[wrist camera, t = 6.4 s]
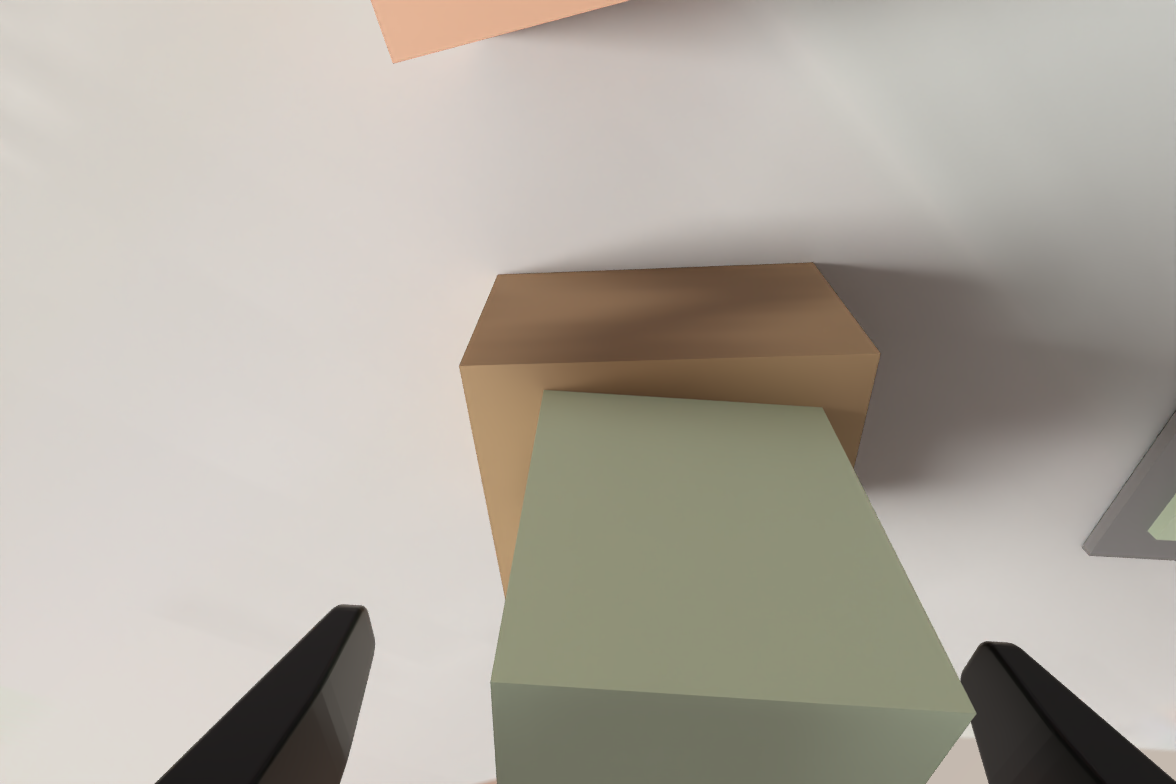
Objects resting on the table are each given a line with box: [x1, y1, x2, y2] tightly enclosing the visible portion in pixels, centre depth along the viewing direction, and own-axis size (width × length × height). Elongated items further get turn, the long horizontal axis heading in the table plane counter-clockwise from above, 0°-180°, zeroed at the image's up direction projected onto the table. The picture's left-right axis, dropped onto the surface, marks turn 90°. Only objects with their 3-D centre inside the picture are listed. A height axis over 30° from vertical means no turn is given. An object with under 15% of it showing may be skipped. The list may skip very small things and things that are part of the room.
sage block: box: [490, 390, 977, 784], centre depth 9 cm, size 4×4×5 cm
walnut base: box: [459, 262, 881, 599], centre depth 13 cm, size 6×6×4 cm
